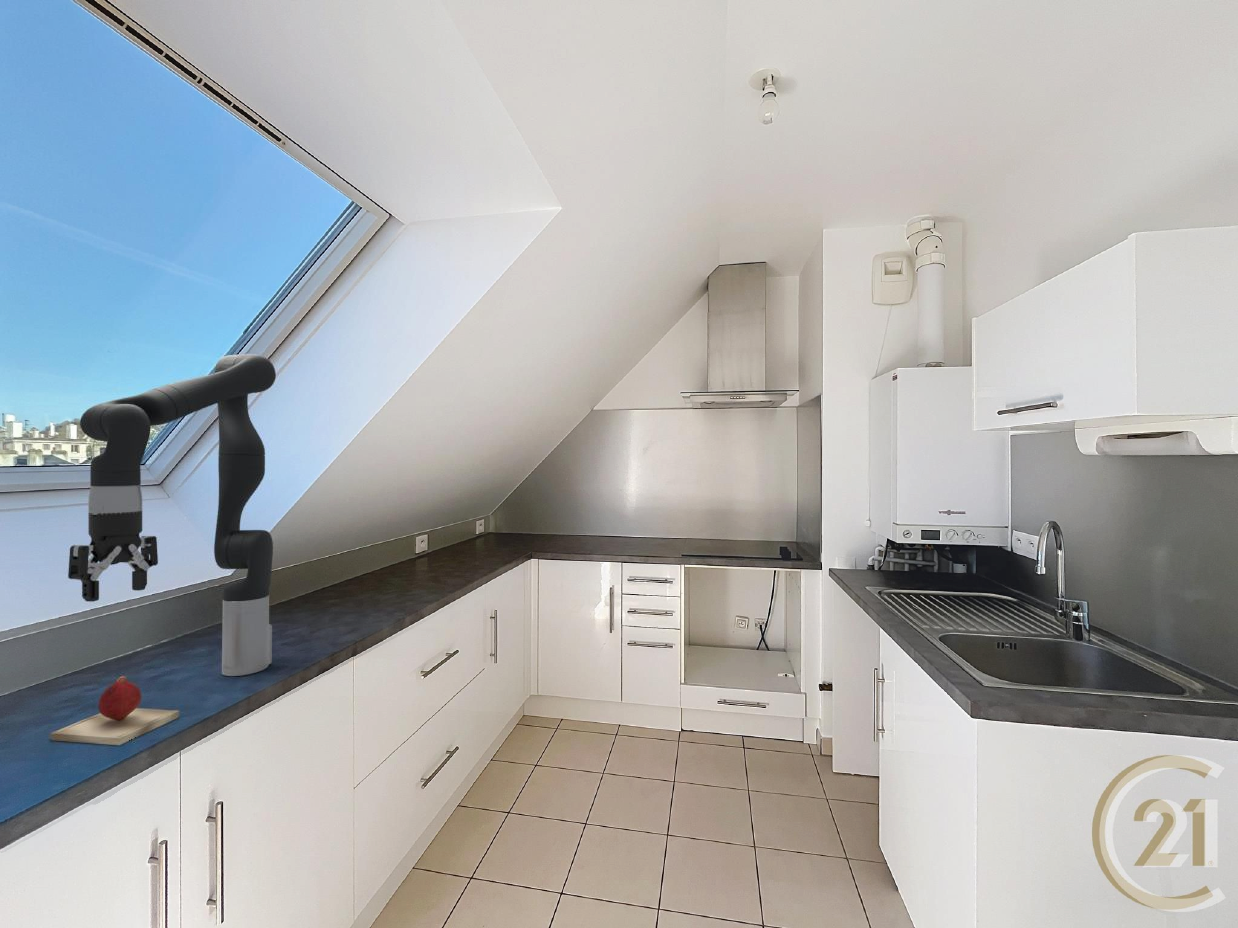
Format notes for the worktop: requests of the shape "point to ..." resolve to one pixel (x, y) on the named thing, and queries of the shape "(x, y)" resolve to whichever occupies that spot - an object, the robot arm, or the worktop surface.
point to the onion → (119, 699)
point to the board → (114, 727)
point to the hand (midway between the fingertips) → (116, 595)
